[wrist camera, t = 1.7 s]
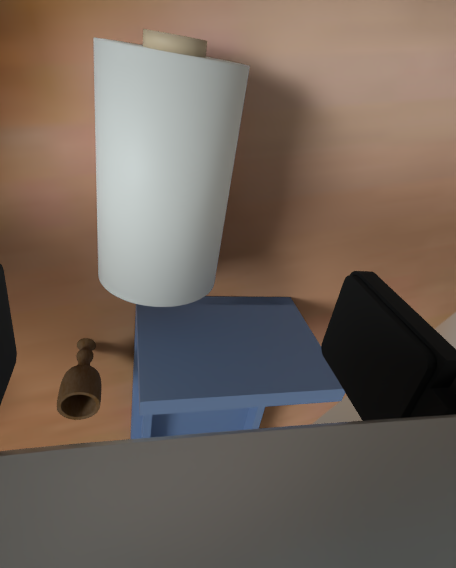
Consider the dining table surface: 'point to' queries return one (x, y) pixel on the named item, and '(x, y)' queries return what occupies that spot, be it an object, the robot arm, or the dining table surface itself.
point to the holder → (223, 365)
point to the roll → (163, 164)
